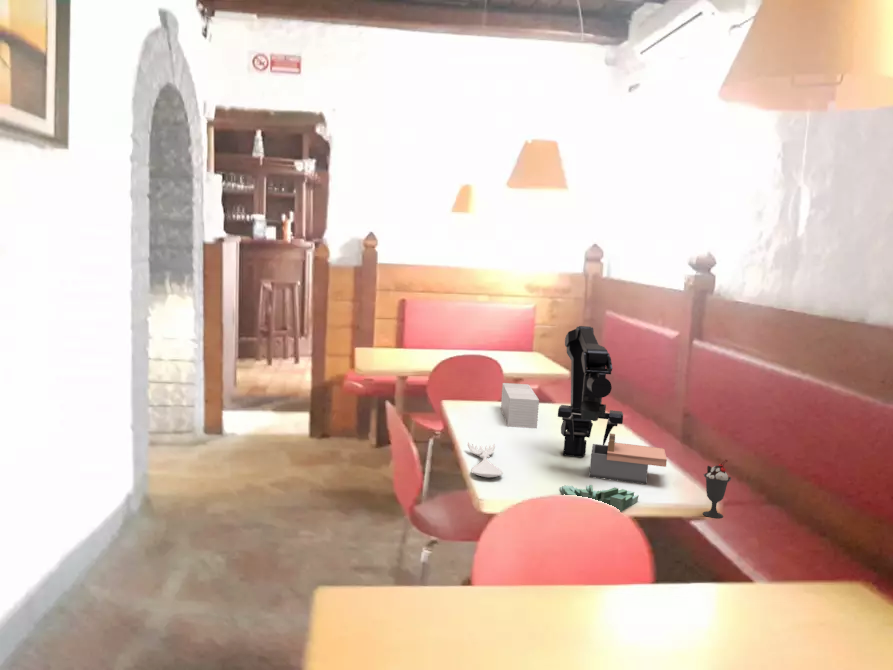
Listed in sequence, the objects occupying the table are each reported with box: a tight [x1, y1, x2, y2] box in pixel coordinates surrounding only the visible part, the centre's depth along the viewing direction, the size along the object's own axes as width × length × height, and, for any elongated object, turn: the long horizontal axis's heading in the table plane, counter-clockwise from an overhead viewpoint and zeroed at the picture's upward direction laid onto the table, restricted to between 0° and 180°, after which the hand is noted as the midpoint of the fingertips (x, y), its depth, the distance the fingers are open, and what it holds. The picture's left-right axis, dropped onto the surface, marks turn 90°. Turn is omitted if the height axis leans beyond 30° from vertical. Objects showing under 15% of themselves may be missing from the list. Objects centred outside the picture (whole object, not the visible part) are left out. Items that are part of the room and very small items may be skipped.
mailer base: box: [589, 443, 649, 485], centre depth 229 cm, size 16×12×7 cm
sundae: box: [702, 459, 732, 520], centre depth 198 cm, size 7×7×15 cm
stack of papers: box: [500, 382, 540, 429], centre depth 299 cm, size 32×11×11 cm, turn 0°
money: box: [559, 484, 639, 513], centre depth 204 cm, size 20×16×5 cm
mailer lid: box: [607, 432, 668, 468], centre depth 228 cm, size 16×14×5 cm
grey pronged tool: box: [467, 441, 504, 478], centre depth 230 cm, size 9×32×4 cm, turn 1°
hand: (588, 442), depth 231 cm, fingers open, 9 cm apart
